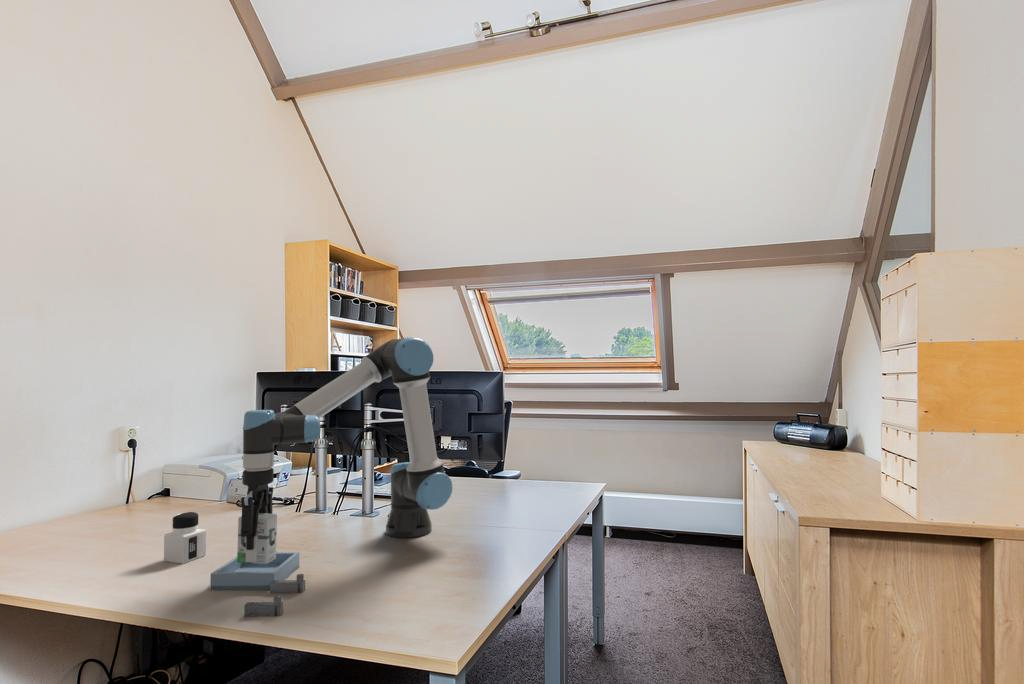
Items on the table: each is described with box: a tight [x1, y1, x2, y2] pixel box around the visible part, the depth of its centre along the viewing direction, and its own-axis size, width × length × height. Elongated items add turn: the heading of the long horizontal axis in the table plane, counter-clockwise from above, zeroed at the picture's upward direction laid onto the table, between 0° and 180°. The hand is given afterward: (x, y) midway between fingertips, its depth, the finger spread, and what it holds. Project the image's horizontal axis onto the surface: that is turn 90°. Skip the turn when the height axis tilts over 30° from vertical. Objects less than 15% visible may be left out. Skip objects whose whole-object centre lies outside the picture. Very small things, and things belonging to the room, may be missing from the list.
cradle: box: [243, 573, 306, 617], centre depth 131 cm, size 8×15×4 cm, turn 179°
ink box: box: [236, 513, 278, 564], centre depth 148 cm, size 9×5×12 cm, turn 81°
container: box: [163, 511, 207, 565], centre depth 164 cm, size 8×8×13 cm
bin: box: [210, 551, 300, 591], centre depth 147 cm, size 16×16×4 cm
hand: (257, 557), depth 147 cm, fingers closed on ink box, 5 cm apart
